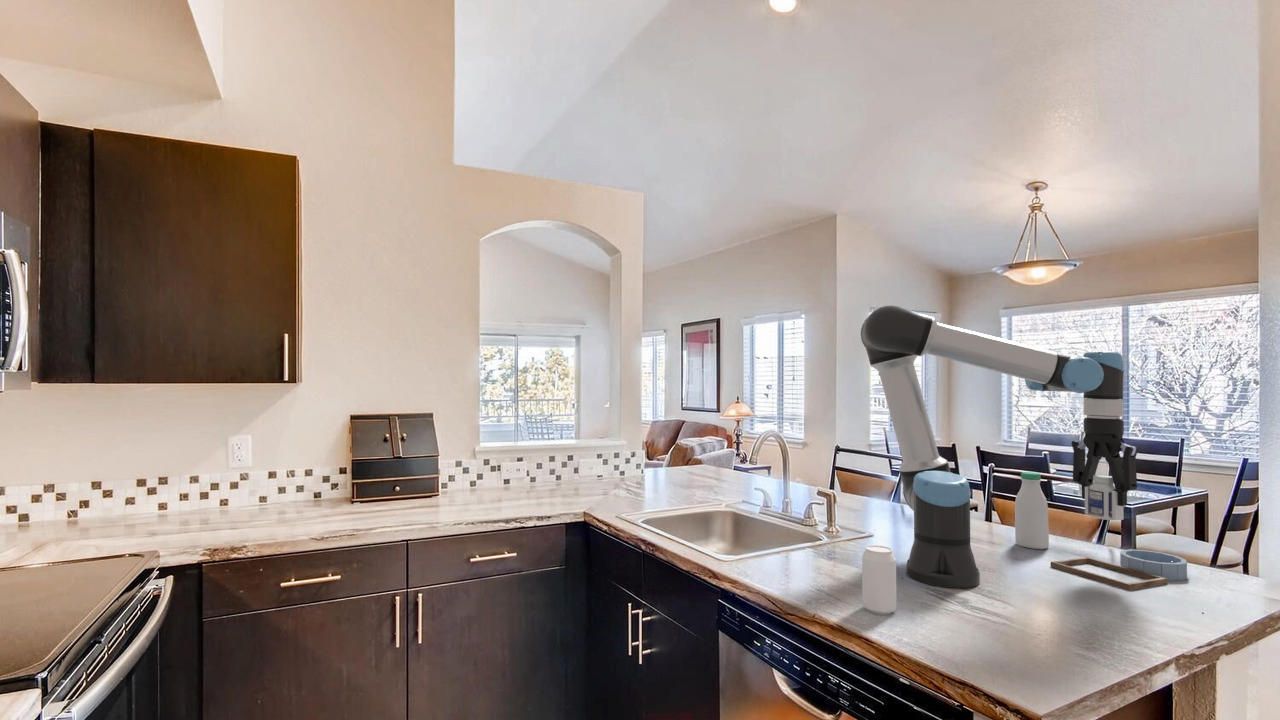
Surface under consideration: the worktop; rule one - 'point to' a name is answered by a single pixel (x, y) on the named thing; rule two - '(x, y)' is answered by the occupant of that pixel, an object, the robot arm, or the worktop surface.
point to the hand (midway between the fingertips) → (1103, 516)
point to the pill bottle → (1101, 497)
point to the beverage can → (879, 580)
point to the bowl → (1155, 563)
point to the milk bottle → (1031, 513)
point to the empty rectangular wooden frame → (1151, 581)
